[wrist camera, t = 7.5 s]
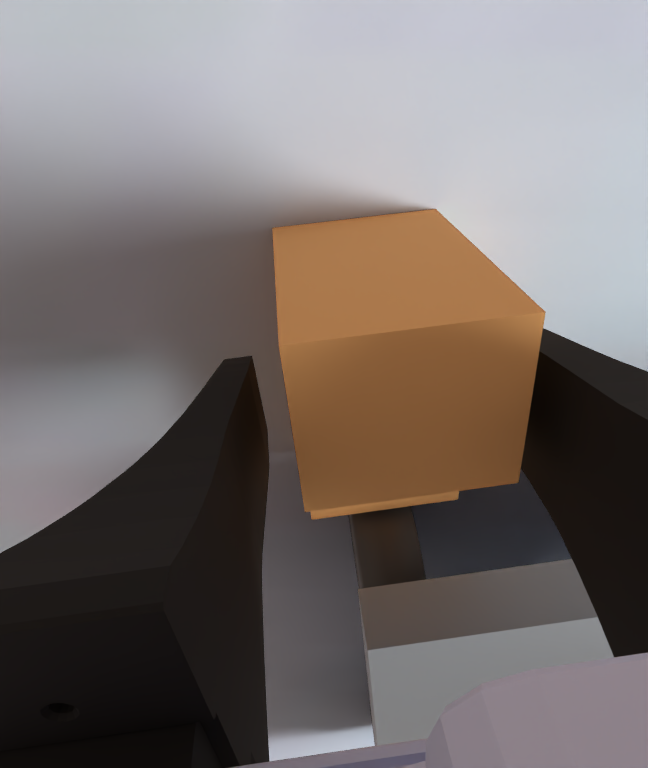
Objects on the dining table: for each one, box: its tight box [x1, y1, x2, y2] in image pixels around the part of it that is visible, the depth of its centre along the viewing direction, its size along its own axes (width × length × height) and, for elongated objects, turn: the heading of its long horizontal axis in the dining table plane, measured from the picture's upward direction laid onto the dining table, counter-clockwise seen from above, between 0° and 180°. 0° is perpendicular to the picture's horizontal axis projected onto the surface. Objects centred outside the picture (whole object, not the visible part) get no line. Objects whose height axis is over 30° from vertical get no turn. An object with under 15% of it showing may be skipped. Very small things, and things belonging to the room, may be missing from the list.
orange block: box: [272, 209, 545, 520], centre depth 12 cm, size 4×7×6 cm, turn 5°
